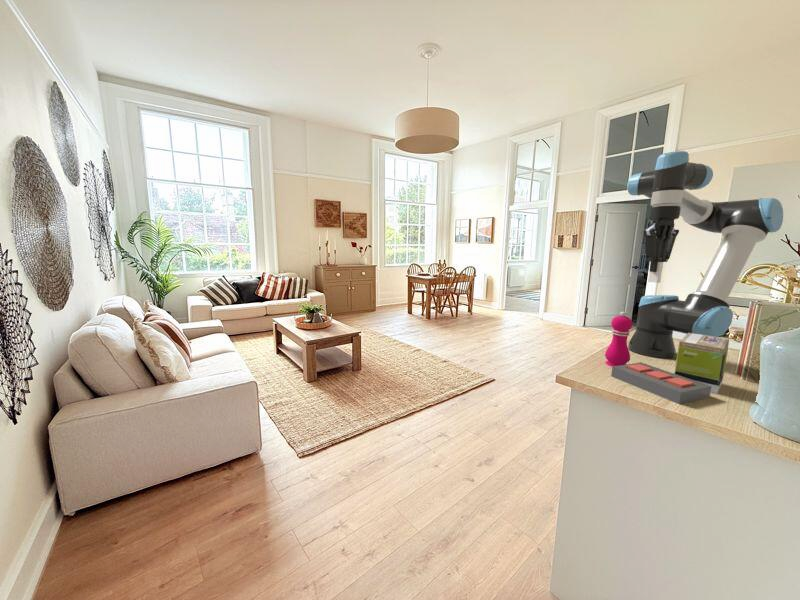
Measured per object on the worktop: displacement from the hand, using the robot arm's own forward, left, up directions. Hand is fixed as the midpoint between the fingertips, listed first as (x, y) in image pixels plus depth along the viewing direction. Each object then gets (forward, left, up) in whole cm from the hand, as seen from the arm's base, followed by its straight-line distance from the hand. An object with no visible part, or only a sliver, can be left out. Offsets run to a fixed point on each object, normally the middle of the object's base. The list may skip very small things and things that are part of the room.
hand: (653, 282), depth 106 cm
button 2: (+10, +12, -29) cm, 33 cm away
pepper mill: (+5, -5, -31) cm, 31 cm away
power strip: (+10, +8, -30) cm, 33 cm away
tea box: (-6, +13, -31) cm, 34 cm away
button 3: (+10, +17, -29) cm, 35 cm away
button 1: (+10, +6, -29) cm, 31 cm away
